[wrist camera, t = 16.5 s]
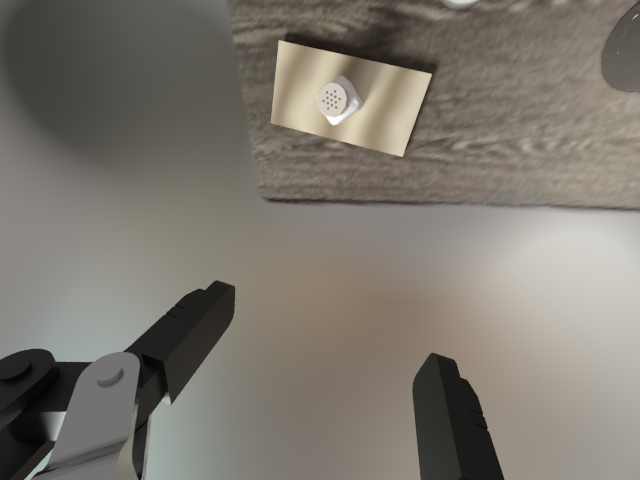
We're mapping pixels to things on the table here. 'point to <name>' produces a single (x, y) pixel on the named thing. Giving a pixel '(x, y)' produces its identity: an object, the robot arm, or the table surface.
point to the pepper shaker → (338, 100)
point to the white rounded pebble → (459, 4)
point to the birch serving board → (371, 86)
